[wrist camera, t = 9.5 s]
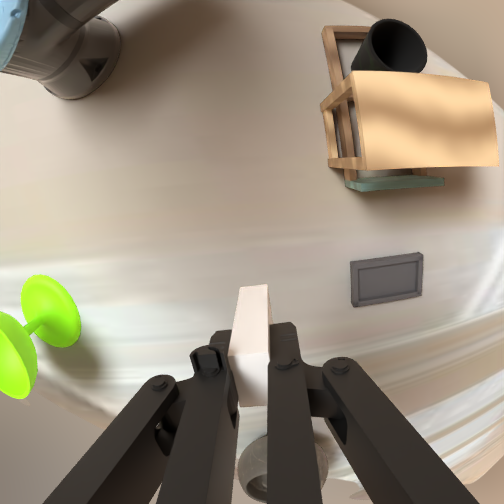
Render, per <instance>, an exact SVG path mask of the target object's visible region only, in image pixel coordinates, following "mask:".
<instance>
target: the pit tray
mask: <svg viewBox="0 0 504 504" xmlns="http://www.w3.org/2000/svg"><path fill="white" fill-rule="evenodd" d="M350 268H351V303H352V305H353V307H358V306H365V305H371V304H377V303H383V302H389V301H395V300H400V299H406V298H411V297H417V296H421V292H422V275H423V254H421V253H420V252H418V253H411V254H403V255H396V256H389V257H382V258H374V259H367V260H359V261H352V262H350Z"/></svg>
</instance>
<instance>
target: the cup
mask: <svg viewBox="0 0 504 504" xmlns="http://www.w3.org/2000/svg"><path fill="white" fill-rule="evenodd" d="M426 63H427V50H426V47H425V44H424V42H423V40H422V39H421V37H420V36H419V34H418V33H417V32H416V31H415V30H414V29H413V28H411V27H410V26H409V25H407V24H405V23H403V22H401V21H398V20H395V19H382V20H380V21H377V22H376V23H375V24H373V25H372V27H371V28H370V30H369V32H368V34H367V36H366V38H365V40H364V41H363V43H362V45H361V47H360V49H359V51H358V53H357V55H356V56H355V58H354V60H353V62H352V65H351V71H390V72H408V73H420V72H421V71H422V70H423V69H424V67H425V65H426Z"/></svg>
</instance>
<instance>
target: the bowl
mask: <svg viewBox="0 0 504 504" xmlns="http://www.w3.org/2000/svg"><path fill="white" fill-rule="evenodd" d="M315 449H316V456H317V463H318V471H319V479H320V487H321V489H322V487H323V485H324V483H325V481H326V478H327V474H328V461H327V457H326V455H325V453H324V451H323V449H322V448H321V447H320V446H319V445H318V444H317V443H315ZM238 477H239V481H240V484H241V486H242V488H243V490H244V491H245V493H246V494H247V495H248V496H249V497H251V498H252V499H254V500H257V501H259V502H263V503H267V436H265V437H262V438H260V439H258V440H256V441H254V442H252V443H251V444H250V445H249V446H247V447H246V449H245V450H244V451H243V453H242V454H241V456H240V459H239V462H238Z"/></svg>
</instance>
